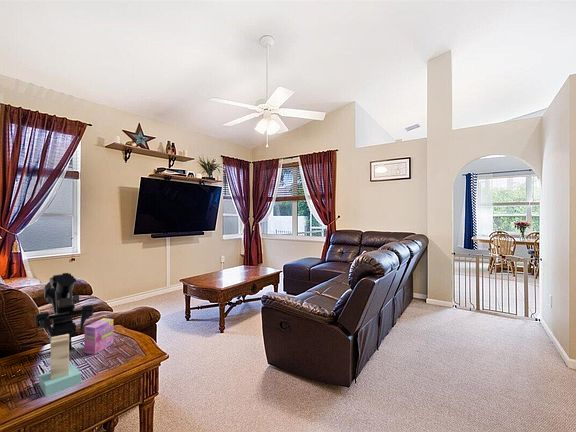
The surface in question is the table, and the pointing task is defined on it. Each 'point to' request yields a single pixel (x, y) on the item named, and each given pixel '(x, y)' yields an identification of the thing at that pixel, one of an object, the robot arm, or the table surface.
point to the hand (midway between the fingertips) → (67, 334)
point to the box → (98, 335)
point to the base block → (59, 381)
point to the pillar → (59, 356)
